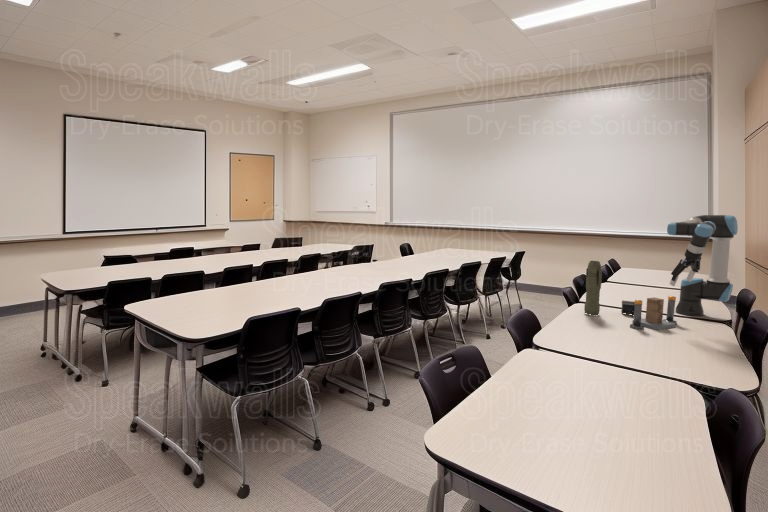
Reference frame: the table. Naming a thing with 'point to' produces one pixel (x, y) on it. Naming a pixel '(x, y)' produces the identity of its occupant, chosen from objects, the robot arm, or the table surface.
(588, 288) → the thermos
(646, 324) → the plate
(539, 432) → the table surface
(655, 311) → the block
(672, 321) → the post
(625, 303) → the electrical switch
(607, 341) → the table surface
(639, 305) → the post
